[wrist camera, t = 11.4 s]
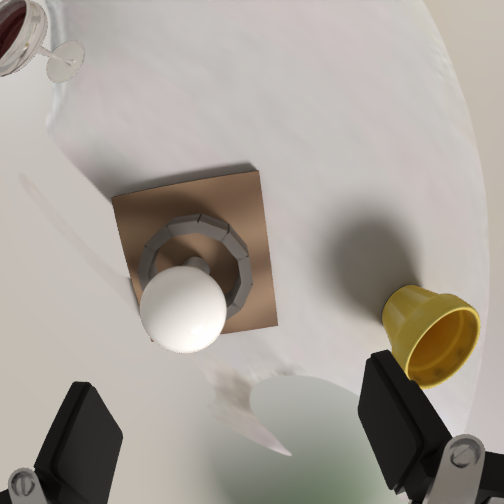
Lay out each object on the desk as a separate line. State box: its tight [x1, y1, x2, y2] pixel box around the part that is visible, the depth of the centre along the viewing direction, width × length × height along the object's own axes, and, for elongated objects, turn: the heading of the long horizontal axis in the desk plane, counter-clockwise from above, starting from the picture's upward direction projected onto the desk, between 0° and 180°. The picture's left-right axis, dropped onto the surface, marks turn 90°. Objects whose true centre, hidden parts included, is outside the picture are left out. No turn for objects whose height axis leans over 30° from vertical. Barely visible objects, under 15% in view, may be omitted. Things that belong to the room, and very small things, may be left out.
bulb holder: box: [111, 170, 278, 342], centre depth 28 cm, size 16×14×4 cm
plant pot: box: [382, 285, 480, 389], centre depth 29 cm, size 10×10×10 cm
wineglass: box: [0, 0, 85, 83], centre depth 16 cm, size 7×7×12 cm
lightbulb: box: [140, 257, 227, 353], centre depth 23 cm, size 6×6×11 cm
